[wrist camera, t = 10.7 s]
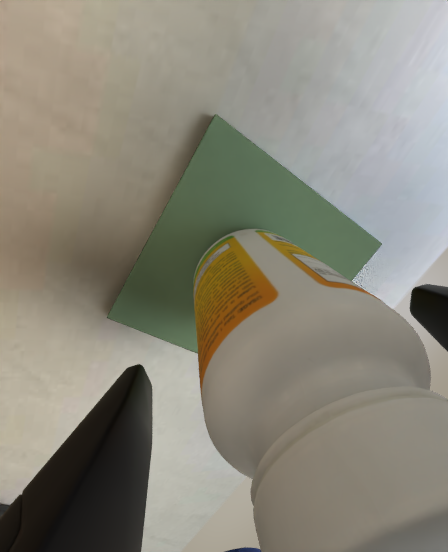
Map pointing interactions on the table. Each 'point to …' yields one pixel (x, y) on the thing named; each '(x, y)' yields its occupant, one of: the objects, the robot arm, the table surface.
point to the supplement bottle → (319, 402)
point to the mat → (229, 230)
